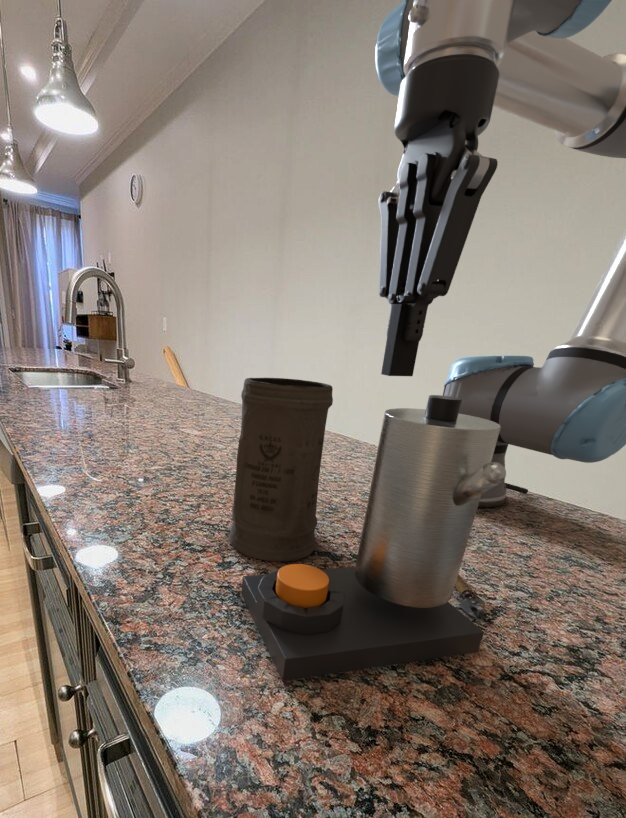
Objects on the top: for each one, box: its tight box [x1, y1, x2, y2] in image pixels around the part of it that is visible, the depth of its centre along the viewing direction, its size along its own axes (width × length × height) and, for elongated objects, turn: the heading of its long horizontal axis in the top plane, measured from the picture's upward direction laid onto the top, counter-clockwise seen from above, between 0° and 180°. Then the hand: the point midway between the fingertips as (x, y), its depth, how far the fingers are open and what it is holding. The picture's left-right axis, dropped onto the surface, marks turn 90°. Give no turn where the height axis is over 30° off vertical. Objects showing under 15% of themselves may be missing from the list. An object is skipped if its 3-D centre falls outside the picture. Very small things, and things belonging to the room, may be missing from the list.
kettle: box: [354, 394, 507, 608], centre depth 38 cm, size 9×14×17 cm, turn 15°
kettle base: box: [240, 566, 485, 682], centre depth 41 cm, size 18×12×4 cm, turn 105°
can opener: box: [454, 573, 486, 619], centre depth 46 cm, size 9×2×1 cm, turn 170°
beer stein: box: [228, 377, 334, 563], centre depth 54 cm, size 15×11×20 cm
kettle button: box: [276, 563, 329, 608], centre depth 38 cm, size 4×4×2 cm
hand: (396, 375), depth 45 cm, fingers closed
